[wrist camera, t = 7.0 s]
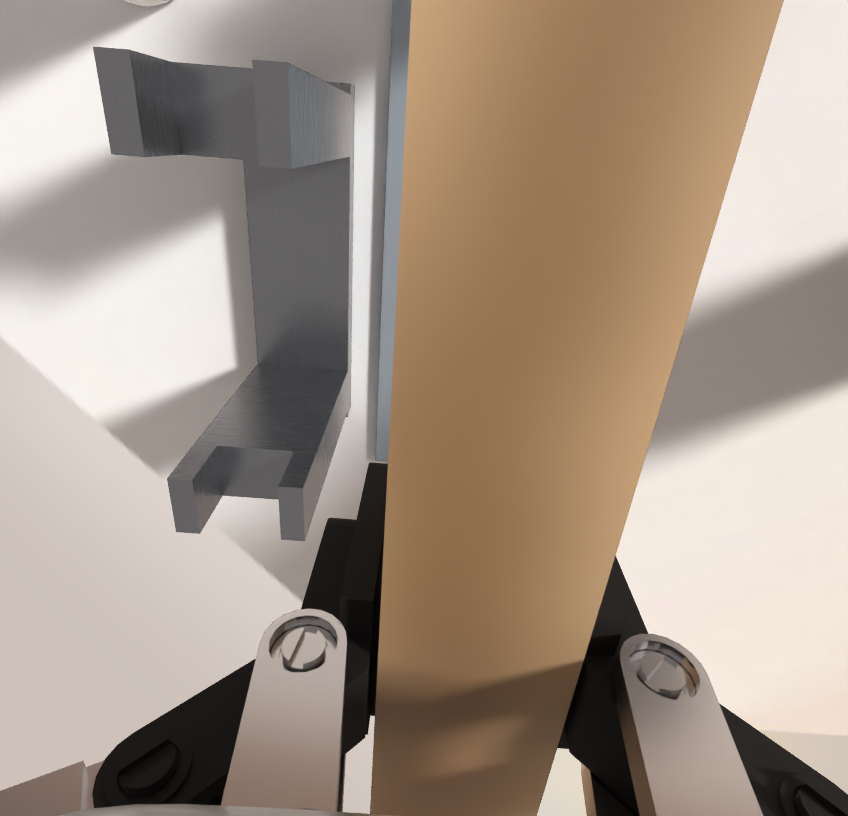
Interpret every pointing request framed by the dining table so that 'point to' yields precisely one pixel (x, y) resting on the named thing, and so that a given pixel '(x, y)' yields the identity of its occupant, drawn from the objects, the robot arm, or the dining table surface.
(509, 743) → the rail
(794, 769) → the robot arm
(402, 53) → the mat
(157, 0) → the can
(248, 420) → the rail rack
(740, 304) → the dining table surface
